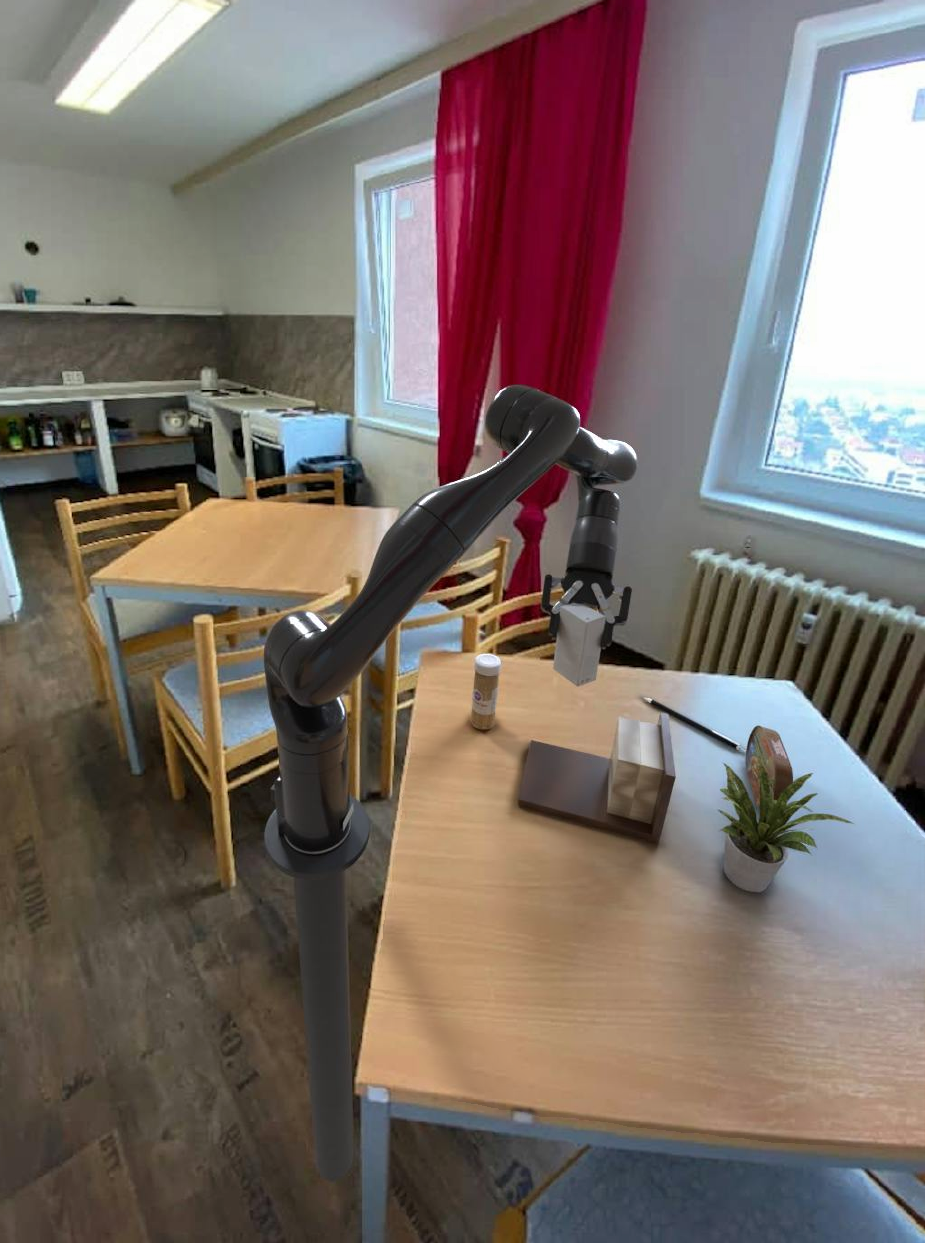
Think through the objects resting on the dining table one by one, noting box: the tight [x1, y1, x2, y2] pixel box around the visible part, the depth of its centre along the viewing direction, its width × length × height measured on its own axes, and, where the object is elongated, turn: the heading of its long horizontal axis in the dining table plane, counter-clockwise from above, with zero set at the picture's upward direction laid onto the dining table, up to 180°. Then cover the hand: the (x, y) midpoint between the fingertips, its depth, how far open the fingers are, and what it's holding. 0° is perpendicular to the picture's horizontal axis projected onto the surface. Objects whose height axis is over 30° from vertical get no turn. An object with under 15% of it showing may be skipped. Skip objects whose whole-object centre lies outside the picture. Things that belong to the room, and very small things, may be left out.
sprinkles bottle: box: [469, 653, 502, 731], centre depth 103 cm, size 5×5×14 cm
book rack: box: [517, 712, 677, 844], centre depth 89 cm, size 20×14×12 cm
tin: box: [744, 725, 794, 808], centre depth 91 cm, size 15×3×8 cm, turn 161°
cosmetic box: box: [552, 603, 606, 688], centre depth 94 cm, size 6×4×12 cm
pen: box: [643, 696, 746, 754], centre depth 106 cm, size 1×19×1 cm, turn 39°
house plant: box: [717, 751, 855, 893], centre depth 75 cm, size 14×14×16 cm
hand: (578, 643), depth 93 cm, fingers closed on cosmetic box, 7 cm apart
